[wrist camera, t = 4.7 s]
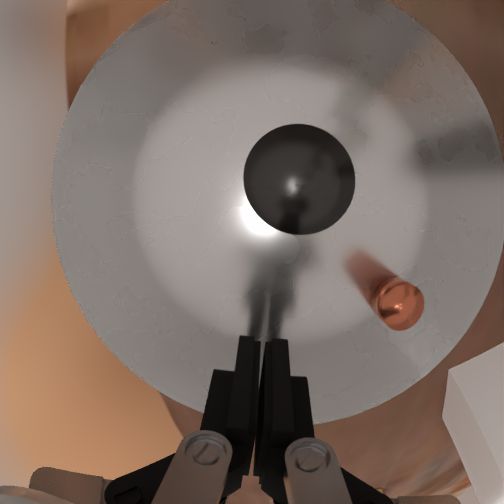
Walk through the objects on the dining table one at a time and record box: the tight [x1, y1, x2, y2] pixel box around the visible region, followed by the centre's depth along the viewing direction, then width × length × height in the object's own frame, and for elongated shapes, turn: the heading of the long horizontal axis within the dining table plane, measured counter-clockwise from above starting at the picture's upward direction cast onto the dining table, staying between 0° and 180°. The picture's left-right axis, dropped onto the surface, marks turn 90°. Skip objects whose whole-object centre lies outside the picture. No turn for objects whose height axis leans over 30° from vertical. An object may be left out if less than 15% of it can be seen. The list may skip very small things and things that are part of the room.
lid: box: [51, 0, 504, 424], centre depth 9 cm, size 19×20×3 cm
